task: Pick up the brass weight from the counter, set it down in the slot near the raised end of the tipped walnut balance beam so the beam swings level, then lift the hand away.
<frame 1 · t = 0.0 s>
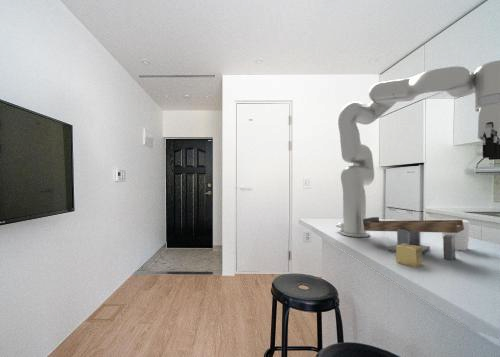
hand: (493, 158, 72), 31 cm above the table, tool pointing down, fingers open, 9 cm apart
pivot stand: (409, 250, 82), on the table
white cup: (455, 248, 85), on the table
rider: (409, 263, 69), on the table
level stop: (449, 258, 74), on the table
beam: (408, 224, 83), point 9 cm above the table, hinge at -8.0°
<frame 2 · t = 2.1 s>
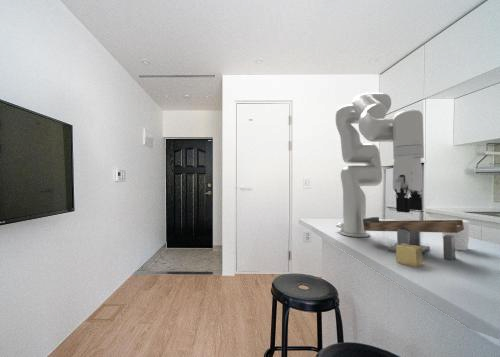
hand: (409, 211, 69), 15 cm above the table, tool pointing down, fingers open, 9 cm apart
nothing on the table moved.
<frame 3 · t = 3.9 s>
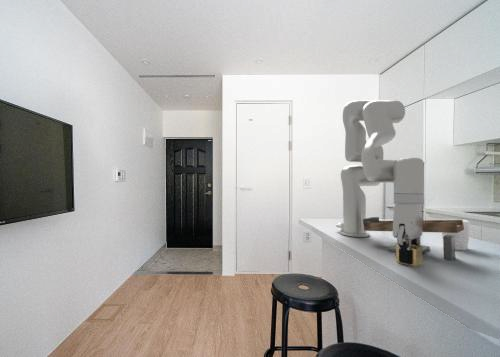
hand: (409, 260, 69), 1 cm above the table, tool pointing down, fingers closed on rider, 5 cm apart
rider: (409, 263, 69), on the table, touching gripper
everything else where it was.
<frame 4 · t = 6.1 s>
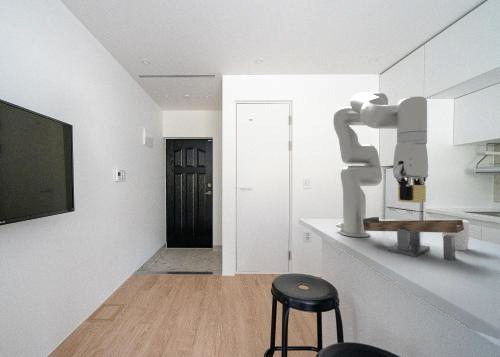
hand: (411, 199, 71), 19 cm above the table, tool pointing down, fingers closed on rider, 5 cm apart
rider: (411, 201, 71), point 18 cm above the table, touching gripper
everything else where it was.
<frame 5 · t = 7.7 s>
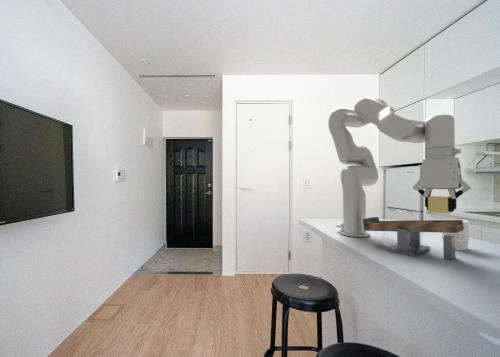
hand: (440, 209, 76), 15 cm above the table, tool pointing down, fingers closed on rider, 5 cm apart
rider: (440, 212, 76), point 14 cm above the table, touching gripper
everything else where it was.
when the fingers open (12 cm above the table, at t = 8.6 s): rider drops 2 cm, resting on beam.
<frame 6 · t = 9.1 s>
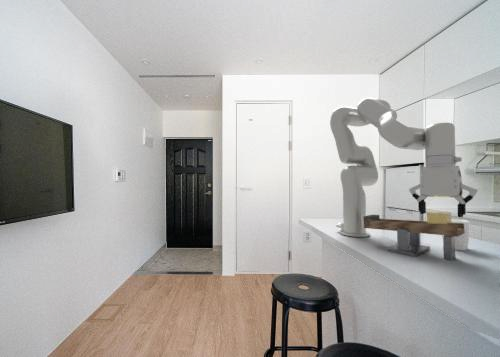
hand: (440, 215, 75), 13 cm above the table, tool pointing down, fingers open, 9 cm apart
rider: (440, 228, 76), point 9 cm above the table, touching beam
beam: (408, 224, 83), point 9 cm above the table, hinge at -3.6°, touching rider
everything else where it was.
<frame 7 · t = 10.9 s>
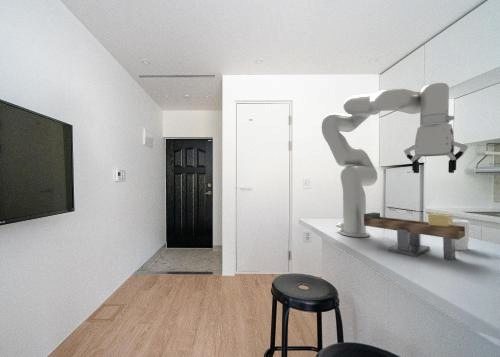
hand: (432, 172, 79), 27 cm above the table, tool pointing down, fingers open, 9 cm apart
beam: (409, 224, 82), point 9 cm above the table, hinge at 0.2°, touching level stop, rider
everything else where it was.
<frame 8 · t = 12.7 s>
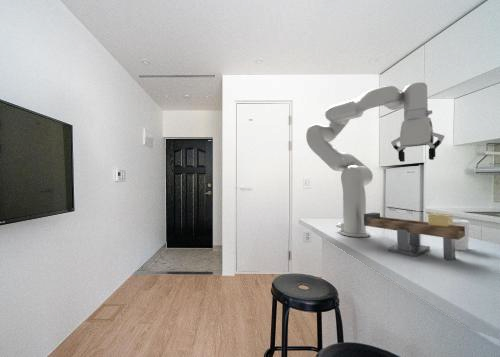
hand: (416, 160, 90), 32 cm above the table, tool pointing down, fingers open, 9 cm apart
nothing on the table moved.
at the end: beam at +0° (first picture: -8°); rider inside the target area on the beam (0.6 cm from its centre), point 1.5 cm above the beam's base; the gripper is holding nothing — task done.
